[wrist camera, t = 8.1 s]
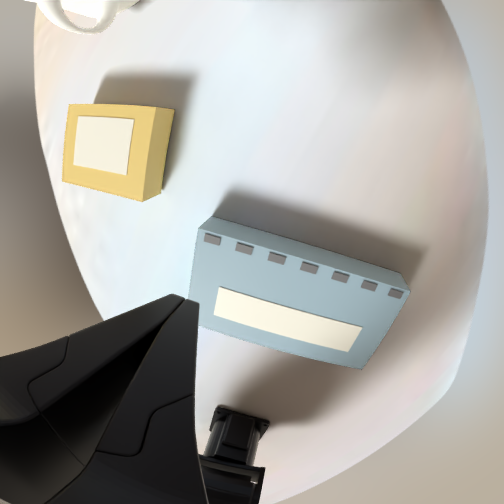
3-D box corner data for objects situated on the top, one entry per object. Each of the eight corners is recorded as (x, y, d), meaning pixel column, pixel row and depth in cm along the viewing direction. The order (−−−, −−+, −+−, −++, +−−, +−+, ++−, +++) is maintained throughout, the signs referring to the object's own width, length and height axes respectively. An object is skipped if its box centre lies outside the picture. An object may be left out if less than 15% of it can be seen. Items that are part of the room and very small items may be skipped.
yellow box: (160, 193, 18) (141, 202, 16) (82, 175, 19) (61, 181, 17) (174, 109, 16) (155, 107, 14) (90, 104, 16) (68, 104, 14)
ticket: (358, 348, 21) (361, 370, 19) (196, 302, 22) (185, 321, 20) (400, 273, 18) (410, 292, 15) (211, 216, 19) (197, 228, 16)
